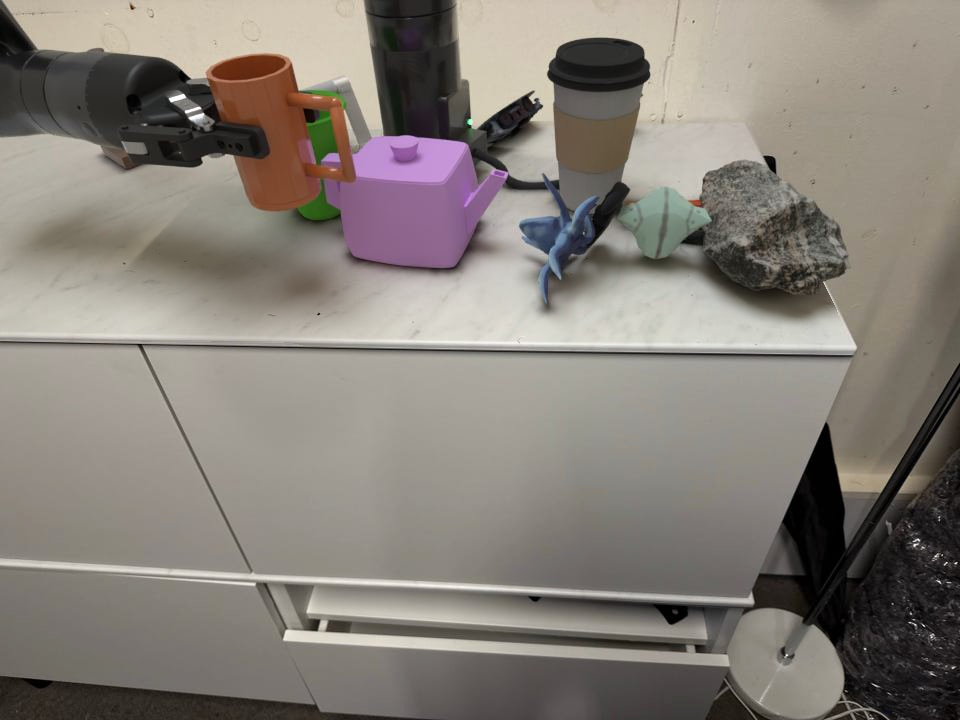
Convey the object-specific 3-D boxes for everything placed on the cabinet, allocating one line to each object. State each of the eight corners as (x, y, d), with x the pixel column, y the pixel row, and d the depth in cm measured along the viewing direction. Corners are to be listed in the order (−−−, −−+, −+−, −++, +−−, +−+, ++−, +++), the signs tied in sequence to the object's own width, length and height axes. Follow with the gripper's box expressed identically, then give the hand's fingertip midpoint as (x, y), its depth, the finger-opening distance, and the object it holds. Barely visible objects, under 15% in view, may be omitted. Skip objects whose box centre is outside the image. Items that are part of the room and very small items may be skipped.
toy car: (478, 122, 71) (494, 145, 72) (547, 75, 76) (562, 97, 76) (454, 153, 79) (468, 173, 80) (517, 108, 83) (531, 128, 84)
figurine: (551, 322, 53) (480, 278, 56) (621, 250, 59) (555, 214, 62) (570, 239, 46) (488, 193, 48) (649, 166, 52) (571, 129, 54)
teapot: (519, 221, 64) (519, 122, 57) (494, 280, 56) (491, 175, 49) (358, 205, 68) (339, 111, 61) (315, 258, 60) (288, 158, 53)
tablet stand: (325, 181, 72) (308, 109, 66) (289, 161, 76) (271, 92, 71) (384, 156, 76) (373, 86, 70) (347, 139, 80) (334, 71, 75)
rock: (892, 270, 51) (866, 199, 44) (795, 348, 53) (757, 292, 47) (749, 179, 64) (712, 114, 57) (676, 246, 66) (633, 190, 60)
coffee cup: (642, 187, 68) (664, 39, 57) (618, 230, 61) (638, 73, 51) (560, 174, 71) (567, 31, 61) (530, 213, 65) (532, 61, 54)
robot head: (611, 267, 57) (619, 200, 52) (610, 242, 60) (618, 177, 55) (701, 271, 56) (718, 203, 51) (696, 246, 59) (712, 179, 54)
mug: (233, 205, 50) (187, 77, 44) (276, 172, 54) (241, 50, 48) (341, 225, 47) (311, 91, 40) (379, 188, 51) (357, 61, 44)
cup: (378, 194, 69) (361, 93, 62) (340, 235, 63) (316, 129, 56) (308, 184, 72) (284, 86, 64) (264, 224, 65) (232, 120, 58)
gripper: (25, 87, 44) (211, 111, 39) (167, 28, 54) (331, 41, 49) (77, 184, 49) (247, 216, 44) (198, 114, 59) (350, 134, 54)
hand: (290, 124), depth 47 cm, fingers closed on mug, 6 cm apart
